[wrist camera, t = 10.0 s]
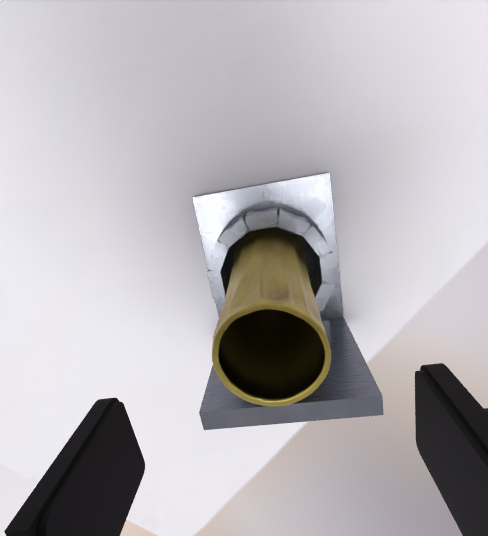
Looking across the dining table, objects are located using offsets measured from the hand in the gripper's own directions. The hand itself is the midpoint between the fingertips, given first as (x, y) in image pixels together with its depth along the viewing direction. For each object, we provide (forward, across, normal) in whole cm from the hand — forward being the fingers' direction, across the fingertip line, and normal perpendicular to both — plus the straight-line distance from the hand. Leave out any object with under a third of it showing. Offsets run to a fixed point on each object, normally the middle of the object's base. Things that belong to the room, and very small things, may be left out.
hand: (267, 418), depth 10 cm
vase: (+18, 0, +1) cm, 18 cm away
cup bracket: (+21, 0, +1) cm, 21 cm away
